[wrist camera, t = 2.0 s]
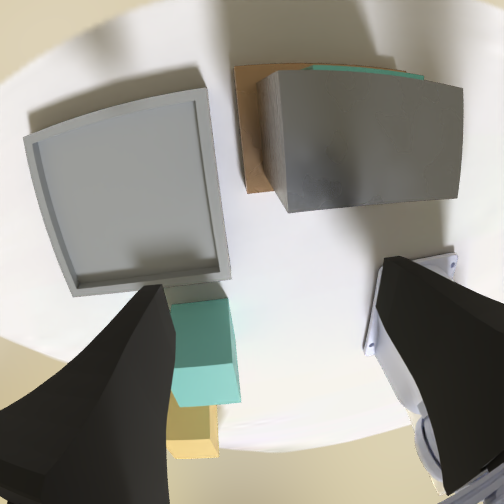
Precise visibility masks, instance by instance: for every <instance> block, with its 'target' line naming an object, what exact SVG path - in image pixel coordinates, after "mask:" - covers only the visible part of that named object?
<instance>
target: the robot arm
mask: <svg viewBox="0 0 504 504" xmlns="http://www.w3.org/2000/svg"><path fill="white" fill-rule="evenodd" d="M457 260H458V255H457V254H455V253H448V254H443V255H438V256H432V257H427V258H422V259H416V260H409V259H406V258H404V257H401V256H395V257H388V258H384V263H383V266H382V267H381V268H380V269H379V271H378V278H377V284H376V290H375V296H374V302H373V308H372V313H371V319H370V324H369V329H368V333H367V338H366V343H365V347H364V354H365V356H371V355H375V356H376V358H377V360H378V362H379V363H380V365H381V367H382V369H383V371H384V373H385V375H386V377H387V379H388V381H389V383H390V385H391V387H392V389H393V391H394V393H395V395H396V397H397V398H398V400H399V402H400V403H401V404H402V405H403V406H404V407H405V408H406V409H408V410H409V411H411V412H413V413H415V414H419V415H421V416H422V417H421V418H420V419H419V420H418V421H417V423H416V426H415V446H416V450H417V453H418V456H419V458H420V460H421V462H422V464H423V465H424V467H425V469H426V470H427V471H428V473H429V474H430V475H431V476H432V477H433V478H435V479H436V480H437V481H439V482H442V483H443V487H444V489H445V492H446V494H447V495H448V496H449V495H450V494H452V493H455V495H453V496H451V497H449V498H447V499H446V500H444V501H442V502H440V503H438V504H477V503H478V502H481V501H484V502H483V504H504V304H503V303H501V302H498V301H495V300H493V299H490V298H488V297H485V296H483V295H481V294H479V293H476V292H474V291H472V290H470V289H468V288H466V287H464V286H462V285H460V284H458V283H456V282H454V281H453V280H452V279H453V275H454V271H455V268H456V264H457ZM175 353H176V331H175V328H174V325H173V321H172V318H171V315H170V311H169V308H168V304H167V301H166V297H165V293H164V290H163V286H162V284H156V285H146V286H143V287H142V288H141V289H140V290H139V291H138V292H137V293H136V294H135V295H134V296H133V297H132V298H131V300H130V301H129V302H128V303H127V304H126V305H125V306H124V307H123V309H122V310H121V311H120V312H119V313H118V314H117V315H116V316H115V317H114V319H113V320H112V321H111V322H110V323H109V324H108V325H107V326H106V327H105V328H104V329H103V330H102V331H101V332H100V333H99V334H98V335H97V336H96V337H95V339H94V340H93V341H92V342H91V343H90V344H89V345H88V346H87V347H86V348H85V349H84V350H83V351H82V352H80V353H79V354H78V355H77V356H76V357H75V358H74V359H73V360H72V361H70V362H69V363H68V364H67V365H66V366H65V367H64V368H62V369H61V370H60V371H59V372H57V373H56V374H55V375H54V376H52V377H51V378H49V379H48V380H47V381H45V382H44V383H43V384H41V385H40V386H39V387H37V388H36V389H35V390H33V391H32V392H30V393H29V394H27V395H26V396H24V397H23V398H21V399H19V400H18V401H16V402H14V403H13V404H11V405H9V406H8V407H6V408H4V409H2V410H0V496H1V497H2V498H4V499H6V500H7V501H8V502H7V504H170V502H169V501H170V500H169V491H168V479H167V459H166V426H167V415H168V408H169V400H170V393H171V386H172V380H173V373H174V366H175Z"/></svg>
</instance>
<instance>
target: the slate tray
mask: <svg viewBox="0 0 504 504" xmlns="http://www.w3.org/2000/svg"><path fill="white" fill-rule="evenodd" d="M23 140H24V146H25V151H26V156H27V160H28V165H29V169H30V174H31V178H32V182H33V186H34V189H35V193H36V197H37V200H38V204H39V207H40V211H41V214H42V217H43V220H44V224H45V227H46V230H47V233H48V236H49V238H50V241H51V244H52V247H53V250H54V252H55V255H56V258H57V260H58V263H59V265H60V268H61V270H62V273H63V275H64V278H65V280H66V282H67V285H68V287H69V289H70V292H71V294H72V296H73V297H81V296H91V295H101V294H111V293H120V292H129V291H139V290H140V289H141V288H142V287H143V286H146V285H156V284H162V286H163V288H165V287H174V286H182V285H190V284H199V283H207V282H215V281H223V280H230V279H232V278H231V266H230V260H229V253H228V246H227V239H226V232H225V225H224V218H223V210H222V203H221V196H220V188H219V181H218V173H217V165H216V157H215V149H214V141H213V133H212V125H211V116H210V108H209V99H208V90H207V88H199V89H192V90H186V91H180V92H174V93H169V94H164V95H159V96H154V97H149V98H145V99H140V100H136V101H132V102H128V103H124V104H120V105H116V106H112V107H109V108H105V109H101V110H98V111H95V112H91V113H88V114H85V115H82V116H79V117H76V118H73V119H70V120H67V121H64V122H61V123H58V124H55V125H53V126H50V127H47V128H45V129H42V130H40V131H37V132H35V133H32V134H30V135H27V136H25V137H23Z"/></svg>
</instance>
